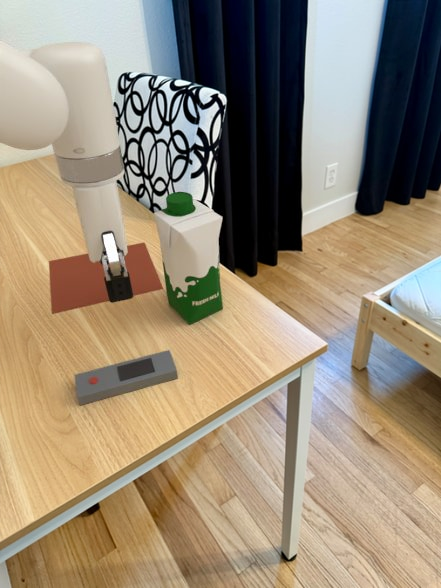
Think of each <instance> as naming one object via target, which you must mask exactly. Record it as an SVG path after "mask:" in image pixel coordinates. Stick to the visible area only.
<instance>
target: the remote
mask: <svg viewBox="0 0 441 588" xmlns="http://www.w3.org/2000/svg"><path fill="white" fill-rule="evenodd" d="M178 376H179V375H178V370H177V367H176V364H175V360H174V358H173V356H172V352H171V349H168V350H164V351H160V352H156V353H152V354H148V355H145V356H141V357H137V358H133V359H129V360H126V361H122V362H118V363H114V364H109V365H107V366H103V367H98V368H94V369H91V370H88V371H83V372H80V373H76V374H74V382H75V383H74V384H75V394H76V399H77V402H78V404H79V406H84V405H87V404H91V403H95V402H99V401H102V400H106V399H109V398H113V397H117V396H121V395H124V394H127V393H131V392H134V391H137V390H142V389H145V388H149V387H152V386H156V385H159V384H162V383H167V382H169V381H174V380H177V379H178Z"/></svg>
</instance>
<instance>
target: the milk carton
mask: <svg viewBox="0 0 441 588" xmlns="http://www.w3.org/2000/svg"><path fill="white" fill-rule="evenodd" d="M193 198H194V197H193V195H192V194H191V193H189V192H188V191H187V192H186V191H176V192H171V193H170V194H168V195H166V197H165V201H166V202H165V203H166V207H165V208H162V209H160V210H158V211H155V212H154V213H153V216H154V221H155V224H156V229H157V234H158V238H159V245H160V253H161V254H160V255H161V260H162V268H163V269H162V270H163V275H164V283H165V292H166V297H167V304H168V306H170V307H171V308H172V309H173V310H174V311H175V312H176V313H177V314H178V315H179V317H181V319H183V320H184V322H186V323H187V324H188V325H189V326H191V325H193V324H195V323H196V322H199V321H201V320H203V319H205V318H207V317H209V316H211V315H213V314H215V313H218V312H220V311H222V310H223V309H224V306H223V296H222V288H221V287H222V286H221V274H220V273H221V272H220V245H219V243H220V242H219V238H220V233H221V228H222V223H223V216H222V215H220V214H218V213H217V212H215V211H214V209H212V208H211V207H208V206H206V205H205V204H203V203H201V202H200V201H198V200H197V199H193Z"/></svg>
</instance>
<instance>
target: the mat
mask: <svg viewBox="0 0 441 588" xmlns="http://www.w3.org/2000/svg"><path fill="white" fill-rule="evenodd" d="M127 251H128V253H127V254H126V256H125V257H124V255H123V257H124V261H125V265H126V269H127V272H129V276H130V281H131V286H132V291H133V297H134V296H138V295H143V294H147V293H152V292H156V291H161V290H164V287H163V285H162V284H163V283H162V282H161V280H160V276H159V274H158V272H157V270H156V267H155V265H154V261H153V260H152V257H151V255H150V253H149V252H150V251H149V250H148V247H147V245H146V243H145V242H138V243H134V244H127ZM120 265H121V263H120ZM48 267H49V269H48V270H49V286H50V304H51V314H52V315H53V314H57V313H58V314H59V313H62V312H67V311H72V310H76V309H80V308H85V307H90V306H94V305H99V304H102V303H106V302H110V301H109V297H108V293H107V289H106V285H105V281H104V277H106V276H105V272H104V268H103V265H102V264H101V262H100V261H96V263H93V262H92V261H90V259H89V255H88V253H84V254H83V253H82V254H77V255H73V256H68V257H63V258H57V259H52V260H48ZM107 267H110V265H109V264H107Z"/></svg>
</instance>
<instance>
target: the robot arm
mask: <svg viewBox="0 0 441 588" xmlns="http://www.w3.org/2000/svg"><path fill="white" fill-rule="evenodd" d="M0 144H3V145H5V146H8V147H10V148H13V149H16V150H23V151H37V150H41V149H45V148H47V147H49V146H51V147H52V150H53V153H54V154H53V155H54V157H55V161H56V165H57V169H58V172H59V176H60V180H61V182H62V183H63V184H65V185H66V186H69V187H71V189H72V193H73V198H74V203H75V207H76V212H77V215H78V219H79V223H80V227H81V230H82V235H83V239H84V242H85V246H86V250H87V254H88V255H89V259H90V261H92V262H93V263H96V261H100V262H101V264H102V265H103V268H104V272H105V276H106V277H104V281H105V285H106V289H107V293H108V297H109V301H108V302H109V303H111V304H113V303H118V302H123V301H127V300H131V299H133V298H134V296H133V291H132V286H131V281H130V276H129V272H127V269H126V265H125V261H124V257H125V256H126V254H127V253H128V251H127V246H128V243H127V236H126V235H127V234H126V228H125V221H124V216H123V209H122V203H121V199H120V198H121V197H120V193H119V187H118V180H120V179H121V178H122V177H123V176H124V175H125V173H126V172H125V165H124V160H123V154H122V147H121V141H120V137H119V131H118V123H117V118H116V113H115V107H114V102H113V96H112V90H111V84H110V79H109V72H108V67H107V61H106V58H105V55H104V53H103V52H102V50H101V49H100V48H99V47H98V46H97V45H96V44H93V43H90V42H82V41H66V42H55V43H50V44H49V43H48V44H44V45H42V46H39V47H37V48H33V49H16V48H15V47H12V46H11V45H9V43H8V44H7V43H6V42H4V41H2V40H1V39H0ZM123 255H124V257H123ZM120 263H121V265H120ZM107 264H109V265H110V267H107Z"/></svg>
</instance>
